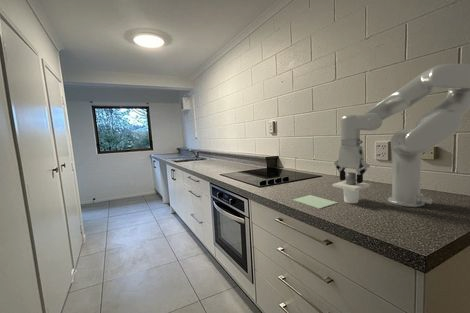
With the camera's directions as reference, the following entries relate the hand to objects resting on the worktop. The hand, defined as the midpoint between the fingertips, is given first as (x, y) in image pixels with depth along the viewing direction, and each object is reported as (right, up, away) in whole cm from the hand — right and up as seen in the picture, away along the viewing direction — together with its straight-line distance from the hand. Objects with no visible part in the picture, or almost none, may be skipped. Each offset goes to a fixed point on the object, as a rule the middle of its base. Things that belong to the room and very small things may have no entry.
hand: (350, 181), depth 101 cm
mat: (-15, -10, +4) cm, 19 cm away
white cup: (+1, -10, +1) cm, 10 cm away
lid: (0, -2, 0) cm, 2 cm away
